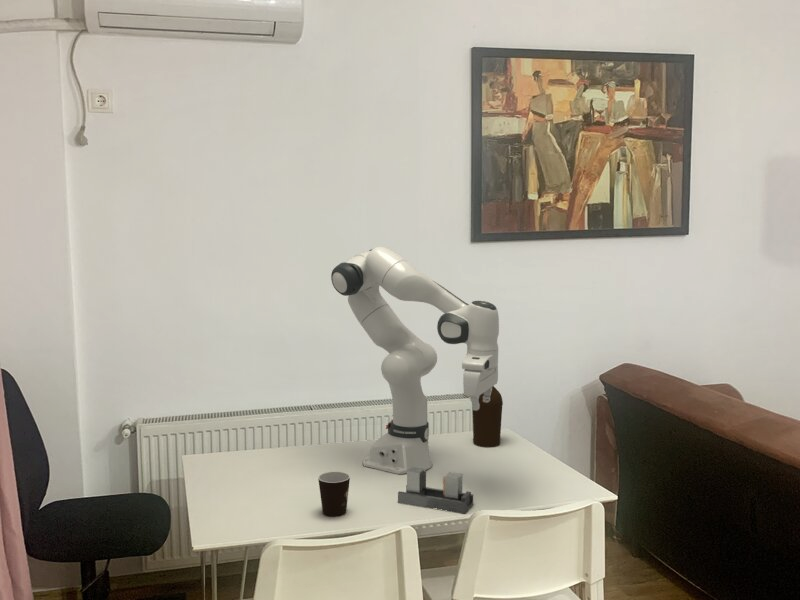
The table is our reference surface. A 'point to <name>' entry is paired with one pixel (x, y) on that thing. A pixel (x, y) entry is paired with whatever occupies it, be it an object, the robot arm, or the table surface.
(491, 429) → the olive oil
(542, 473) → the table surface
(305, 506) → the table surface
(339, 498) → the coffee mug
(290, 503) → the table surface
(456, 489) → the finger
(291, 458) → the table surface
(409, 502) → the rail
